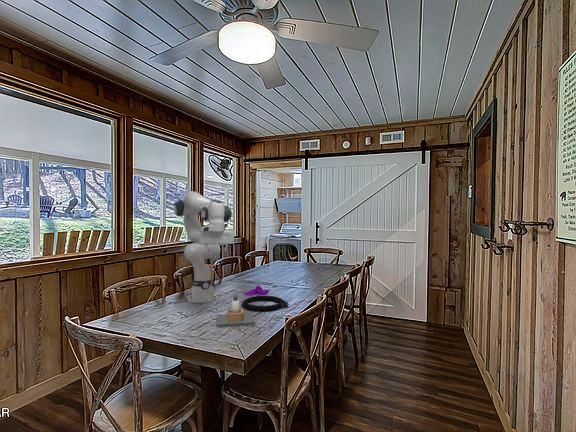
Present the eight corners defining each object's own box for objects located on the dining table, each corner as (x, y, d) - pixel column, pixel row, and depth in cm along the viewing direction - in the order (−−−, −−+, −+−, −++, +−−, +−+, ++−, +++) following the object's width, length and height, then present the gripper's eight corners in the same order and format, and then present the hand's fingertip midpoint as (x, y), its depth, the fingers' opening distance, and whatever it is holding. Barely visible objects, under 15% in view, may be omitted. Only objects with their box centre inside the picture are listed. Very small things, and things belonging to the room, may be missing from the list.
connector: (230, 318, 181) (230, 294, 181) (237, 316, 184) (237, 293, 183) (233, 320, 178) (233, 296, 178) (240, 318, 180) (240, 295, 180)
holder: (217, 327, 171) (217, 317, 171) (216, 317, 186) (216, 308, 186) (255, 324, 175) (255, 314, 175) (251, 315, 191) (251, 306, 191)
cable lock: (249, 293, 227) (292, 296, 221) (249, 299, 227) (292, 302, 221) (235, 305, 200) (283, 308, 194) (235, 311, 200) (283, 314, 194)
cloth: (240, 296, 235) (240, 287, 235) (248, 290, 254) (248, 282, 254) (270, 298, 231) (270, 289, 231) (276, 291, 249) (276, 283, 249)
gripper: (234, 227, 195) (234, 250, 195) (198, 227, 190) (198, 251, 190) (235, 228, 189) (234, 252, 189) (198, 228, 184) (198, 252, 184)
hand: (216, 251), depth 190 cm, fingers open, 8 cm apart
